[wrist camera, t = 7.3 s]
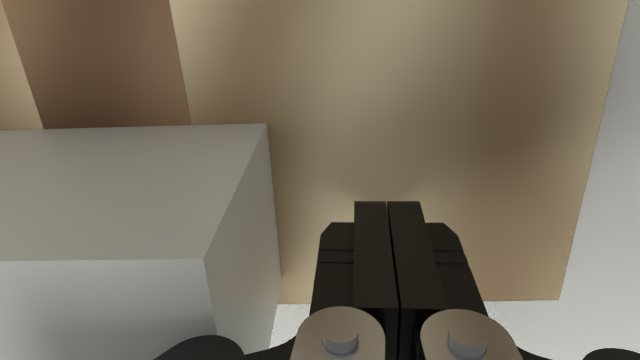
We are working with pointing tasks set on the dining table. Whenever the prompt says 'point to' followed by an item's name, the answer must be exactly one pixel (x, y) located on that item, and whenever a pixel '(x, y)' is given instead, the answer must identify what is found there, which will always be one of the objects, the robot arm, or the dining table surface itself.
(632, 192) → the dining table surface
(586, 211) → the dining table surface
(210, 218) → the white box
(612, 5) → the board
